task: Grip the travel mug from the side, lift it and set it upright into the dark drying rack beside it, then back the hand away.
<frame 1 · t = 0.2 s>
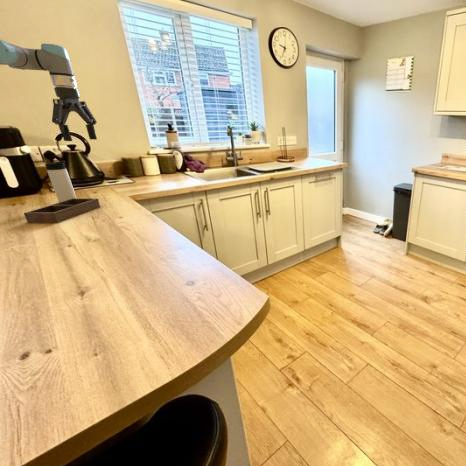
hand: (81, 140, 129), 28 cm above the counter, tool pointing down, fingers open, 13 cm apart
rack: (67, 215, 120), on the counter
travel mug: (70, 205, 133), on the counter
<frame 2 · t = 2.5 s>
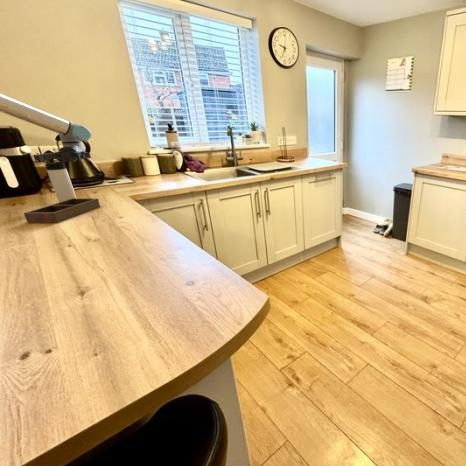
hand: (58, 158, 132), 20 cm above the counter, tool horizontal, fingers open, 13 cm apart
nothing on the counter moved.
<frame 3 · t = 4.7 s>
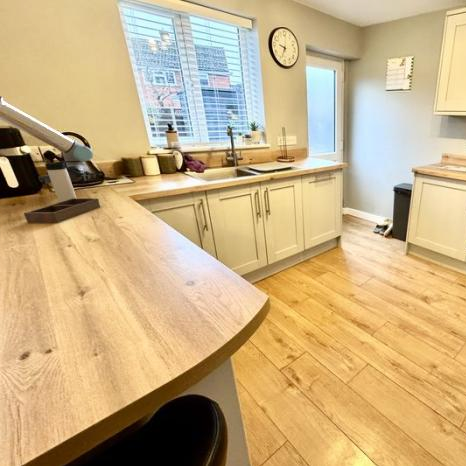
hand: (64, 180, 133), 11 cm above the counter, tool horizontal, fingers open, 13 cm apart
nothing on the counter moved.
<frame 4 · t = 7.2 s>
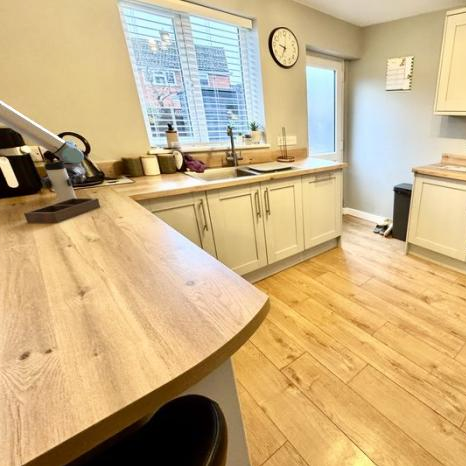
hand: (57, 184, 125), 11 cm above the counter, tool horizontal, fingers closed on travel mug, 6 cm apart
travel mug: (70, 205, 133), on the counter, touching gripper
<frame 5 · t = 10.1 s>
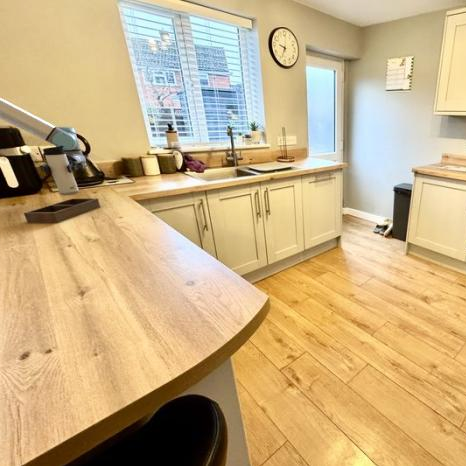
hand: (57, 170, 117), 18 cm above the counter, tool horizontal, fingers closed on travel mug, 6 cm apart
travel mug: (70, 194, 125), point 7 cm above the counter, touching gripper
when the fingers open (12 cm above the counter, at t = 12.9 s): travel mug stays where it is, resting on rack.
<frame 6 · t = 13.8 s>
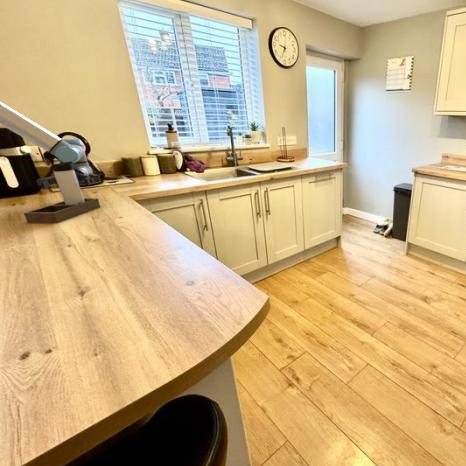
hand: (65, 183, 118), 13 cm above the counter, tool horizontal, fingers open, 13 cm apart
travel mug: (78, 209, 125), point 1 cm above the counter, touching rack
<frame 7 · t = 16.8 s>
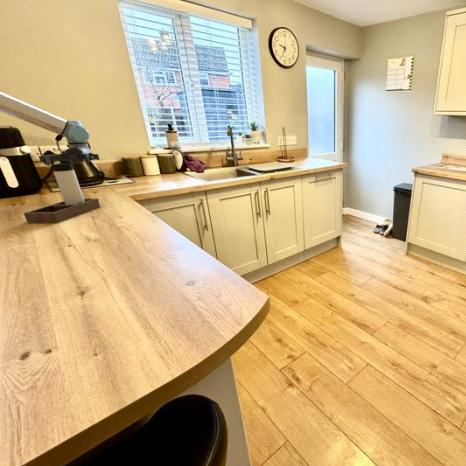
hand: (66, 160, 125), 21 cm above the counter, tool horizontal, fingers open, 13 cm apart
nothing on the counter moved.
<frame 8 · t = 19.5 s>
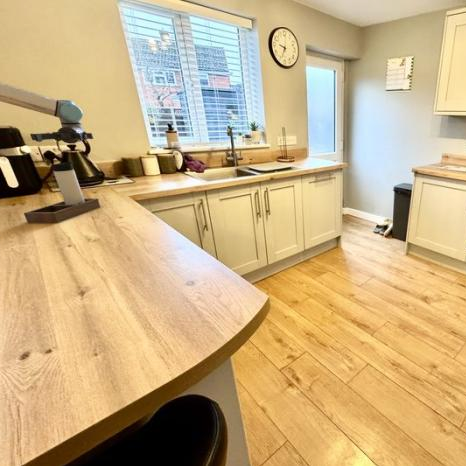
hand: (58, 137, 121), 30 cm above the counter, tool horizontal, fingers open, 13 cm apart
nothing on the counter moved.
at the end: travel mug 0.3 cm from the target spot in the rack, point 0.8 cm above the rack's base; travel mug tilted 0°; the gripper is holding nothing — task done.
